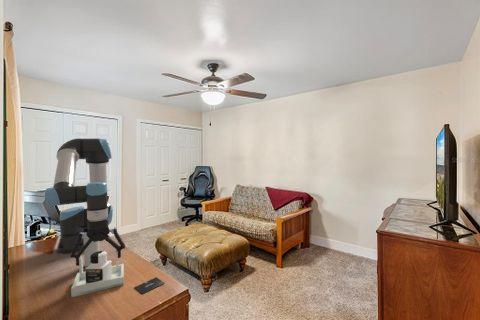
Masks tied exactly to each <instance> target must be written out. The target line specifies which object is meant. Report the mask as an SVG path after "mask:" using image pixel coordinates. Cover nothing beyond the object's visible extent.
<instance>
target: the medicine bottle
mask: <svg viewBox="0 0 480 320" xmlns="http://www.w3.org/2000/svg"><path fill="white" fill-rule="evenodd" d="M90 264H91V265H89V266H88V267H87V268H85V272H86V284H88V283H92V282H97V281H102V280H106V279H109V278H110V277H111V276H112V266H113V264H112V260H108V253H107V251H104V250H99V251H98V252H95V253H93V254H91V256H90Z"/></svg>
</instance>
